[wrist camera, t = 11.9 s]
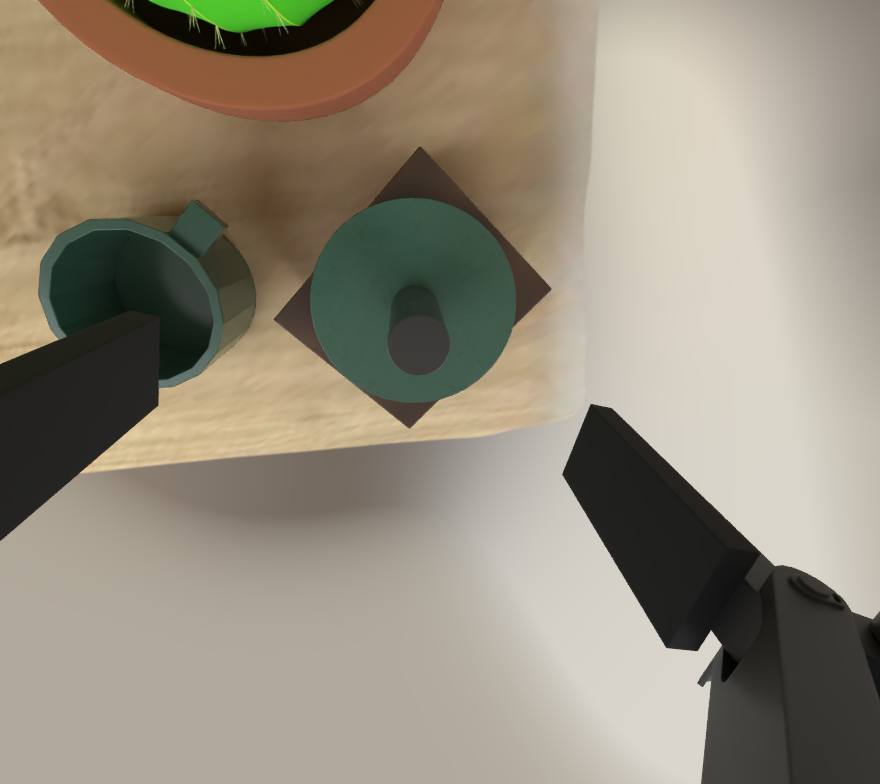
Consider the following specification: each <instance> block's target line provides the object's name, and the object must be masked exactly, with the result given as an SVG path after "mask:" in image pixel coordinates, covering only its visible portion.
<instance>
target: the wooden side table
mask: <svg viewBox="0 0 880 784" xmlns="http://www.w3.org/2000/svg"><path fill="white" fill-rule="evenodd" d="M410 197H411V198H427V199H432V200H437V201H441V202H444V203H447V204H450V205H452V206H455V207H457V208H459V209H461V210H463V211H464V212H466V213H468V214H469V215H471V216H472V217H473V218H475V219H476V220H478V221H479V222H480V223H481V224H482V225H483V226H484V227H485V228H486V229H487V230H489V232H490V233H491V234H492V235H493V237H494V238H495V239H496V240H497V242H498V243H499V245H500V246H501V248H502V250H503V251H504V253H505V255H506V257H507V260H508V262H509V264H510V267H511V270H512V274H513V277H514V282H515V289H516V312H515V320H514V324H513V327H514V326H515V325H516V324H517V323H518V322H519V321H520V320H521V319H522V318H523V317H524V316H525V315H526V314H527V313H528V312H529V311H530V310H531V309H532V308H533V307H534V306H535V305H536V304H537V303H538V302H539V301H540V300H542V299H543V298H544V297H545V296H546V295H547V294H548V293H549V292H550V291H551V287H550V286H549V285H548V284H547V283H546V282H545V281H544V280H543V279H542V278H541V277H540V275H539V274H538V273H537V272H536V271H535V270H534V269H533V268H532V267H531V266H530V265H529V263H528V262H527V261H526V260H525V259H524V258H523V257H522V256H521V255H520V254H519V253H518V252H517V250H516V249H515V248H514V247H513V246H512V245H511V244H510V243H509V242H508V241H507V240H506V238H505V237H504V236H503V235H502V234H501V233H500V232H499V231H498V230H497V229H496V228H495V227H494V225H493V224H492V223H491V222H490V221H489V220H488V219H487V218H486V217H485V216H484V215H483V214H482V212H481V211H480V210H479V209H478V208H477V207H476V206H475V205H474V204H473V203H472V202H471V200H470V199H469V198H468V197H467V196H466V195H465V194H464V193H463V192H462V191H461V190H460V189H459V187H458V186H457V185H456V184H455V183H454V182H453V181H452V180H451V179H450V178H449V177H448V176H447V174H446V173H445V172H444V171H443V170H442V169H441V168H440V167H439V166H438V165H437V164H436V162H435V161H434V160H433V159H432V158H431V157H430V156H429V155H428V154H427V153H426V152H425V151H424V149H423V148H422V147H419V148H418V149H417V150H416V151H415V152H414V154H413V155H412V156H411V157H410V158H409V160H408V161H407V162H406V163H405V164H404V165H403V167H402V168H401V169H400V170H399V171H398V173H397V174H396V175H395V176H394V177H393V179H392V180H391V181H390V182H389V183H388V184H387V186H386V187H385V188H384V189H383V190H382V192H381V193H380V194H379V195H378V196H377V198H376V199H375V200H374V201H373V202H372V203H371V205H370V206H369V207H371V206H373V205H376V204H378V203H381V202H384V201H389V200H393V199H399V198H410ZM313 274H314V272H313V273H312V275H311V276H310V277H309V278H308V279H307V281H306V282H305V283H304V284H303V285H302V287H301V288H300V289H299V290H298V291H297V292H296V294H295V295H294V296H293V297H292V298H291V300H290V301H289V302H288V303H287V304H286V305H285V307H284V308H283V309H282V310H281V311H280V313H279V314H278V315H277V316H276V317H275V319H274V320H275V321H276V322H277V323H278V324H280V325H281V326H282V327H283V328H284V329H286V330H287V331H288V332H289V333H291V334H292V335H293V336H294V337H296V338H297V339H298V340H299V341H301V342H302V343H303V344H304V345H306V346H307V347H308V348H309V349H311V350H312V351H313V352H314V353H316V354H317V355H318V356H319V357H321V358H322V359H323V360H324V361H326V362H327V363H328V364H329V365H331V366H332V367H333V368H334V369H336V370H337V371H338V372H339V373H341V372H340V371H339V370H338V369H337V368H336V367H335V366H334V364H333V363H332V362H331V361H330V359H329V358H328V356H327V355H326V353H325V352H324V350H323V348H322V346H321V344H320V342H319V340H318V337H317V334H316V331H315V328H314V325H313V320H312V315H311V305H310V294H311V283H312V279H313ZM341 374H342V373H341ZM342 375H343V374H342ZM343 376H344V375H343ZM344 377H345V376H344ZM349 381H350V380H349ZM350 382H351V381H350ZM352 383H353V382H352ZM353 384H354V383H353ZM354 385H355V384H354ZM355 386H357V385H355ZM357 387H358V386H357ZM358 388H359V389H360V390H362V391H363V392H364V393H365V394H367V395H368V396H369V397H370V398H372V399H373V400H374V401H375V402H377V403H378V404H379V405H380V406H382V407H383V408H384V409H385V410H387V411H388V412H389V413H390V414H392V415H393V416H394V417H395V418H397V419H398V420H399V421H400V422H402V423H403V424H404V425H405V426H407V427H408V428H409V429H410V428H411V427H412V426H413V425H414V424H415V423H416V422H417V421H418V420H419V419H420V418H421V417H422V416H423V415H424V414H425V413H426V412H427V411H428V410H429V409H430V408H431V407H432V406H433V405H434V404H435V403H436V402H438V401H439V400H440V399H439V400H435V401H430V402H420V403H406V402H399V401H393V400H389V399H385V398H381V397H379V396H376V395H374V394H371V393H369V392H367V391H365V390H363V389H362V388H360V387H358Z"/></svg>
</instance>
